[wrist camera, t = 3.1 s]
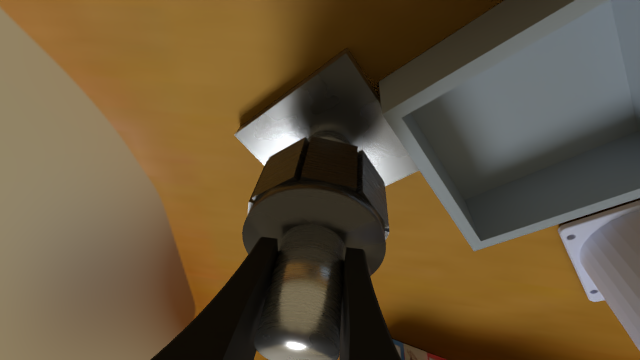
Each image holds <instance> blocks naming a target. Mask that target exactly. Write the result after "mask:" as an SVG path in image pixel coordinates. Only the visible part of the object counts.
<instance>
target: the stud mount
mask: <svg viewBox="0 0 640 360" xmlns="http://www.w3.org/2000/svg"><path fill="white" fill-rule="evenodd" d="M235 136H236V137H237V138H238V139H239V140H240V141H241V142H242V143H243V144H244V145H245V146H246V148H247V149H248V150H249V151H250V152H251V153H252V154H253V155H254V156H255V157H256V158H257V159H258V160H259V161H260V162H261V163H262V164H263V165H264V166H265V164H266V162H267V161H268V159H269V157H270V156H272V155H274V154H275V153H277V152H279V151H281V150H283V149H284V148H286V147H288V146H290V145H291V144H293V143H295V142H297V141H299V140H300V139H302V138H304V137H306V138H307V140H308V141H309V142H310V139H311V136H314V137H319V138H323V139H328V140H332V141H337V142H341V143H346V144H350V145H355V146H358V152H359V151H361V150H363V151H364V152H365V154H366V155H367V157H368V158H369V160H370V161H371V163H372V164H373V166H374V167H375V169H376V170H377V172H378V173H379V175H380V176H381V178H382V179H383V181H384V182H385V186H387V185H389V184H391V183H393V182H395V181H397V180H399V179H402V178H404V177H406V176H408V175H410V174H412V173H414V172H416V171H419V169H418V167H417V166H416V164H415V163H414V161H413V160H412V158H411V157H410V155H409V154H408V152H407V151H406V149H405V148H404V146H403V145H402V143H401V142H400V140H399V139H398V137H397V136H396V134H395V133H394V131H393V130H392V128H391V127H390V125H389V124H388V122H387V121H386V120H385V118H384V117H383V115H382V109H381V99H380V97H379V96H378V94H377V93H376V91H375V90H374V88H373V86H372V85H371V83H370V82H369V80H368V79H367V77H366V76H365V74H364V73H363V71H362V70H361V68H360V67H359V65H358V64H357V62H356V61H355V59H354V58H353V56H352V54H351V53H350V51H349V50H348V48H346V49H345V50H343V51H342V52H340V53H339V54H338V55H336V56H335V57H334V58H332V59H331V60H330V61H328V62H327V63H326V64H324V65H323V66H322V67H320V68H319V69H318V70H316V71H315V72H314V73H312V74H311V75H309V76H308V77H307V78H305V79H304V80H303V81H301V82H300V83H299V84H297V85H296V86H295V87H293V88H292V89H291V90H289V91H288V92H287V93H285V94H284V95H282V96H281V97H280V98H278V99H277V100H276V101H274V102H273V103H272V104H270V105H269V106H268V107H266V108H265V109H264V110H262V111H261V112H260V113H258V114H257V115H255V116H254V117H253V118H251V119H250V120H249V121H247V122H246V123H245V124H243V125H242V126H241V127H240V128H239V129H238V130H237V132H236V133H235Z"/></svg>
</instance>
